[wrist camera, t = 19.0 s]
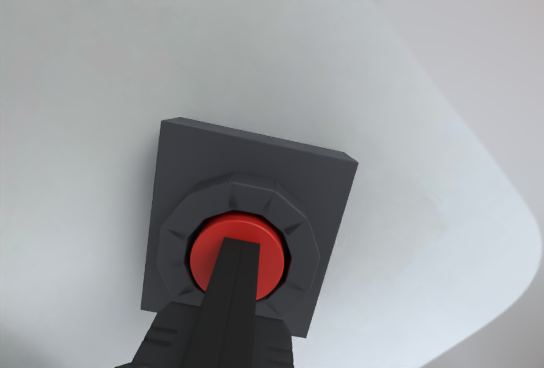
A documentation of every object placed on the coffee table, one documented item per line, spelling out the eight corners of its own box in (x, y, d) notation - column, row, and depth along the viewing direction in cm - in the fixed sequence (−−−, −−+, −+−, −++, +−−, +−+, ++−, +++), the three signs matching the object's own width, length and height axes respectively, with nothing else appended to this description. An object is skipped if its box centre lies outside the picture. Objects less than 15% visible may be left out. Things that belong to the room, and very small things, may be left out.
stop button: (205, 197, 13) (196, 211, 12) (290, 214, 14) (293, 230, 12) (193, 272, 15) (183, 295, 13) (272, 287, 15) (273, 311, 13)
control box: (179, 116, 15) (143, 123, 11) (344, 152, 16) (372, 171, 12) (158, 279, 18) (123, 336, 14) (301, 305, 19) (310, 367, 14)
